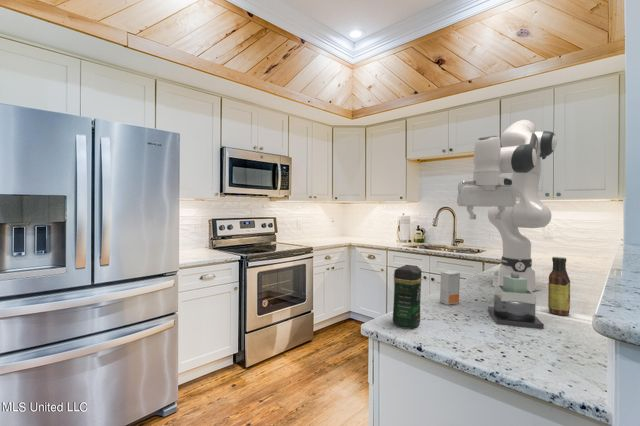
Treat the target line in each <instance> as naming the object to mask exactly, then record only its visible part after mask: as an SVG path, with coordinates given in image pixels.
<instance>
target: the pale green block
mask: <svg viewBox="0 0 640 426" xmlns="http://www.w3.org/2000/svg"><path fill="white" fill-rule="evenodd" d="M503 291H505V292H518V293H527V279H524V278H521V277H519V273H516V272H511V276H503Z"/></svg>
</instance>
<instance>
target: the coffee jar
mask: <svg viewBox="0 0 640 426" xmlns="http://www.w3.org/2000/svg"><path fill="white" fill-rule="evenodd" d="M393 284H394V285H393V286H394V287H393V307H392V323H393V325H395V326H397V327H399V328H403V329H407V328H408V329H414V328H416V327H417V326H418V325H420V322H421V301H422V300H421V297H422V296H421V295H422V294H421V293H422V291H421V290H422V269H421V268H420V267H419V266H418V265H414V264H413V265H412V264H405V265H402V266H400V267H397V268H395V269H394V273H393Z"/></svg>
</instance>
